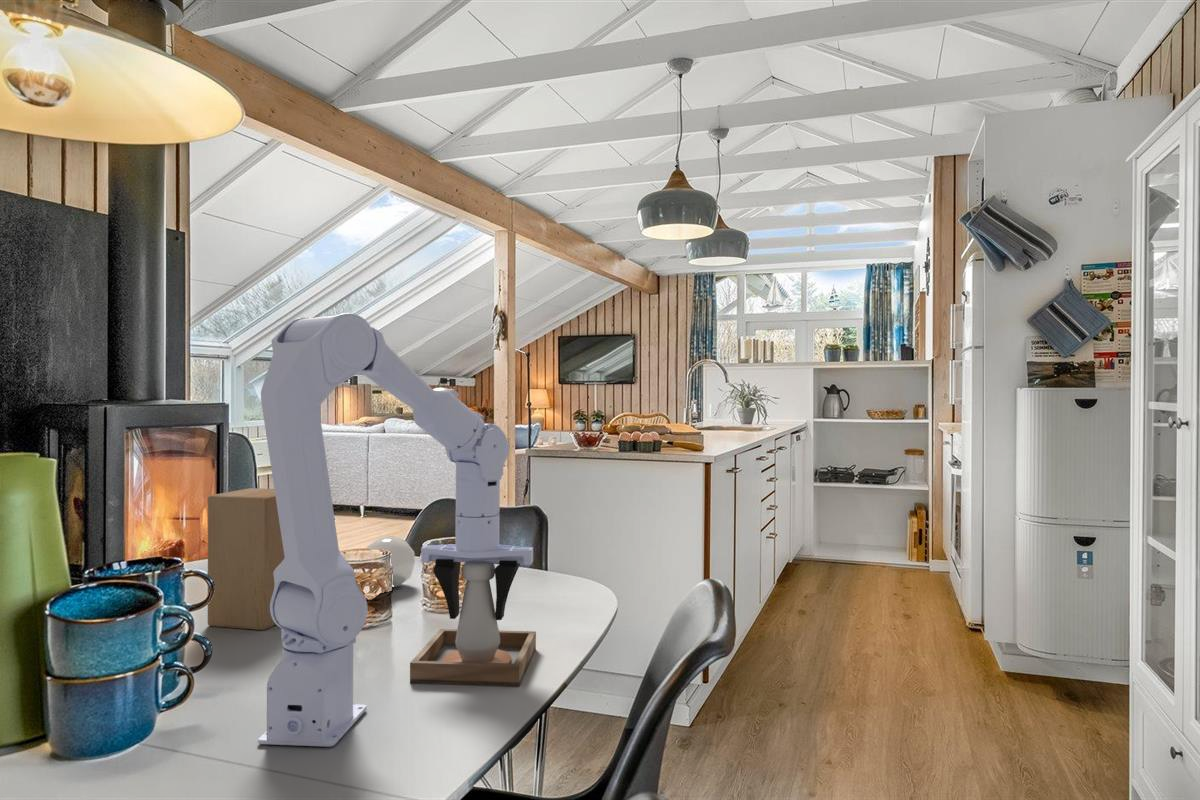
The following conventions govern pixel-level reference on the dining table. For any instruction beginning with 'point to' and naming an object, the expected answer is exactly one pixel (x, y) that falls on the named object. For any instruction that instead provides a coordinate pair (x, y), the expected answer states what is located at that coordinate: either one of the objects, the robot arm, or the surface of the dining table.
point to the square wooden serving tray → (435, 671)
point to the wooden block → (243, 557)
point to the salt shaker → (477, 615)
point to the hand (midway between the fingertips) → (477, 617)
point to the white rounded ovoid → (397, 557)
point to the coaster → (498, 658)
